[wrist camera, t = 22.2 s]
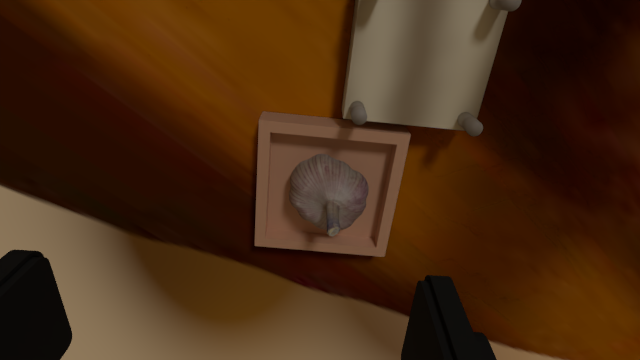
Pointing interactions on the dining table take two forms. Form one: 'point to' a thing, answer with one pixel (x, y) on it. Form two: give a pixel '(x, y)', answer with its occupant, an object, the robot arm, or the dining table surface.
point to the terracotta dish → (339, 143)
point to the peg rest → (422, 61)
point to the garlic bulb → (328, 193)
